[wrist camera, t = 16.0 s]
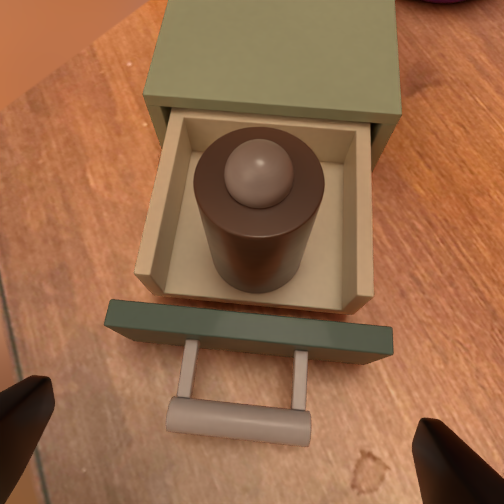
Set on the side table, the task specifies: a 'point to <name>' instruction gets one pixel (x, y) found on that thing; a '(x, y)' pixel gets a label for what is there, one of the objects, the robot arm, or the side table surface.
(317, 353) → the drawer
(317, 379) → the side table surface
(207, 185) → the pepper mill
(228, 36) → the cabinet
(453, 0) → the mug
